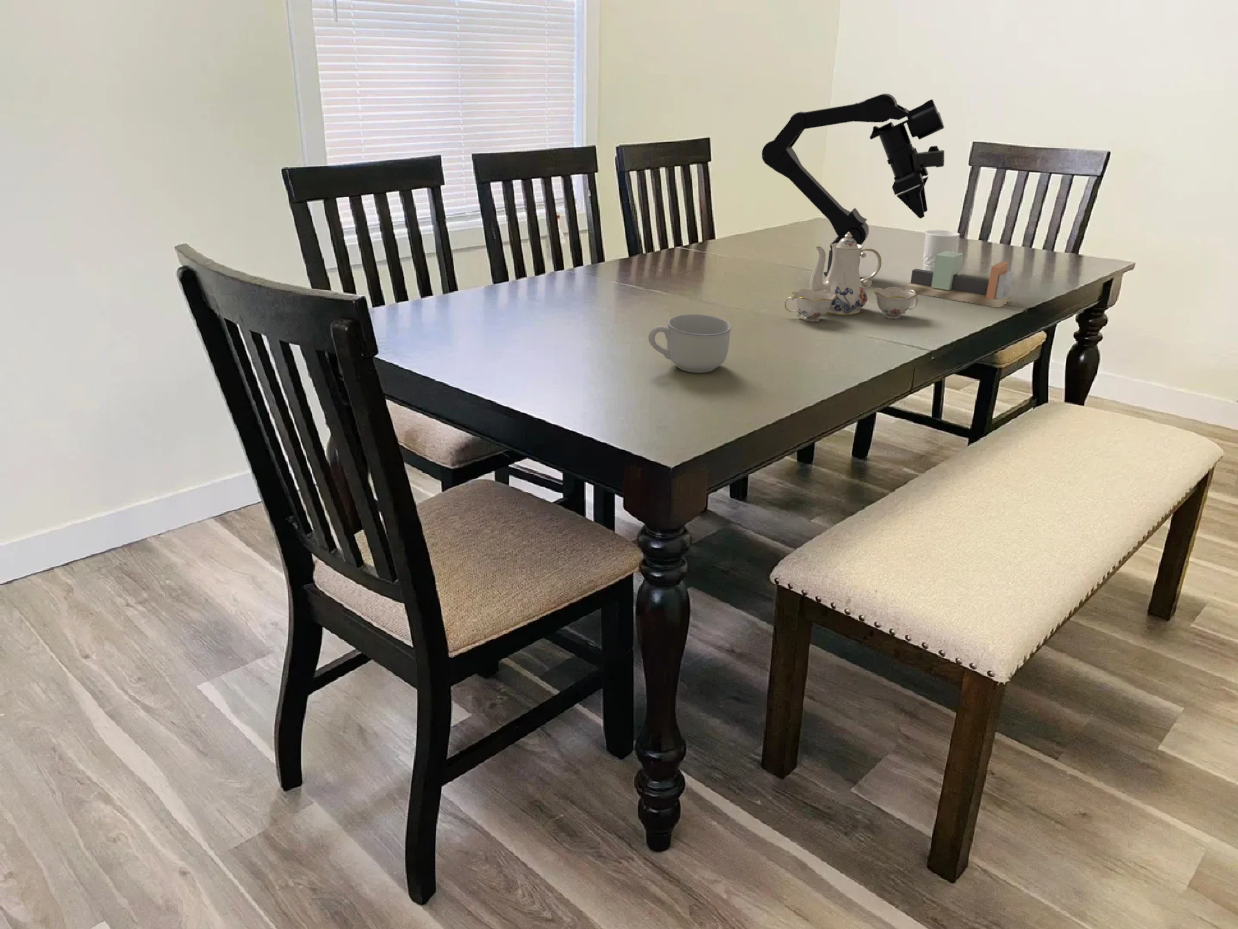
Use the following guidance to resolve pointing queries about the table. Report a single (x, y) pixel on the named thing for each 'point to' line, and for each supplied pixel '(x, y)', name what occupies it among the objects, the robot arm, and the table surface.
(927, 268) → the white cup
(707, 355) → the teacup
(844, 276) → the chinaware
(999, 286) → the connector
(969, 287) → the rail
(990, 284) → the band
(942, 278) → the sleeve
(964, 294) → the track board
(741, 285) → the table surface
